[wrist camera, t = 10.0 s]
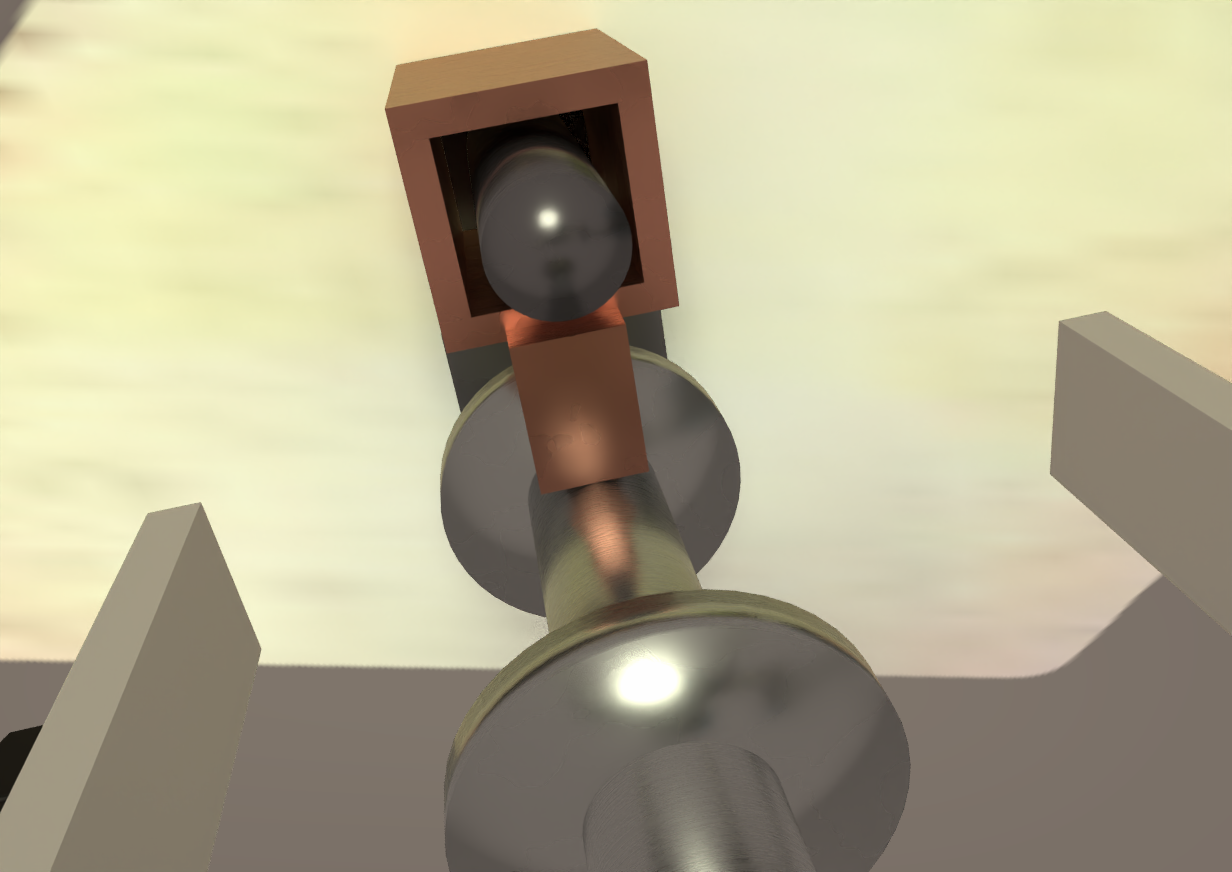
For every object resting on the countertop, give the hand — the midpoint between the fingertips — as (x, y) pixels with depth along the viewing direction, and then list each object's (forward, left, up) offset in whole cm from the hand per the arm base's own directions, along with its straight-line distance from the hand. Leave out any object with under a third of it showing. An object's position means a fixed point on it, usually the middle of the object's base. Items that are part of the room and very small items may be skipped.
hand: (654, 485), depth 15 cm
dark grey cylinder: (0, 0, -27) cm, 27 cm away
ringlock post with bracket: (0, +6, -27) cm, 27 cm away
